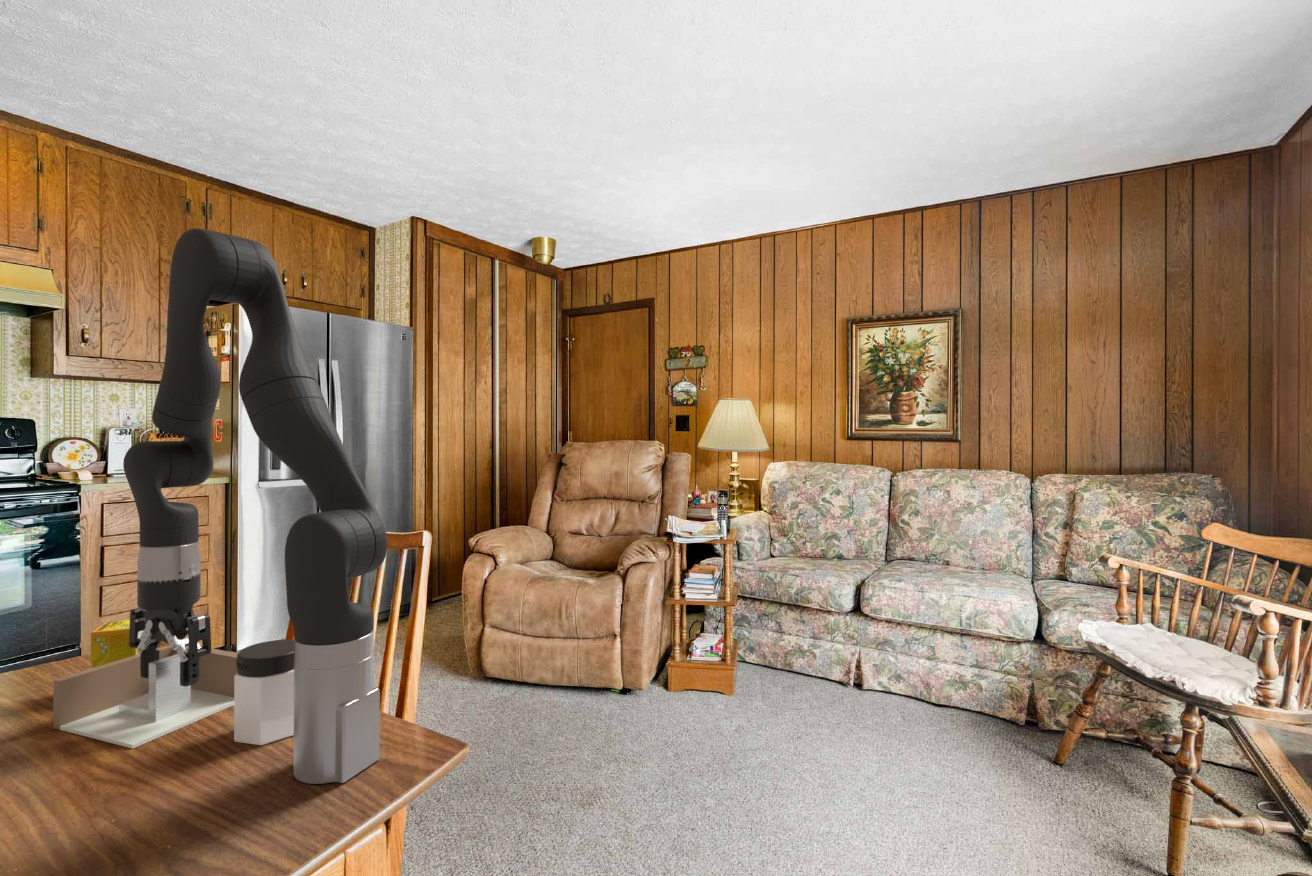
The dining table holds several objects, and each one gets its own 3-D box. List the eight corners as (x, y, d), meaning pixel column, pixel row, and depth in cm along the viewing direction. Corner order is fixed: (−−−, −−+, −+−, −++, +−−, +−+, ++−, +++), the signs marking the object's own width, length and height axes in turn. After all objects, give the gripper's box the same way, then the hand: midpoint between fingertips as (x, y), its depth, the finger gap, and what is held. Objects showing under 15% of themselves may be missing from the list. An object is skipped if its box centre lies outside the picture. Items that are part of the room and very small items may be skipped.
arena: (249, 698, 101) (250, 655, 101) (132, 748, 85) (132, 697, 85) (176, 683, 106) (176, 642, 106) (53, 728, 90) (53, 680, 90)
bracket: (190, 707, 96) (190, 653, 96) (155, 722, 91) (155, 664, 91) (154, 700, 98) (154, 646, 98) (118, 713, 94) (118, 657, 94)
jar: (248, 720, 93) (248, 641, 93) (309, 714, 95) (309, 636, 95) (226, 750, 84) (226, 662, 84) (293, 742, 87) (294, 656, 87)
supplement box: (103, 686, 105) (103, 621, 105) (148, 680, 107) (148, 617, 107) (89, 700, 99) (89, 632, 99) (136, 693, 102) (136, 627, 102)
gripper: (109, 574, 92) (109, 683, 93) (176, 583, 88) (176, 697, 88) (163, 564, 99) (163, 665, 100) (228, 572, 95) (227, 677, 95)
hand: (169, 680), depth 94 cm, fingers open, 8 cm apart
